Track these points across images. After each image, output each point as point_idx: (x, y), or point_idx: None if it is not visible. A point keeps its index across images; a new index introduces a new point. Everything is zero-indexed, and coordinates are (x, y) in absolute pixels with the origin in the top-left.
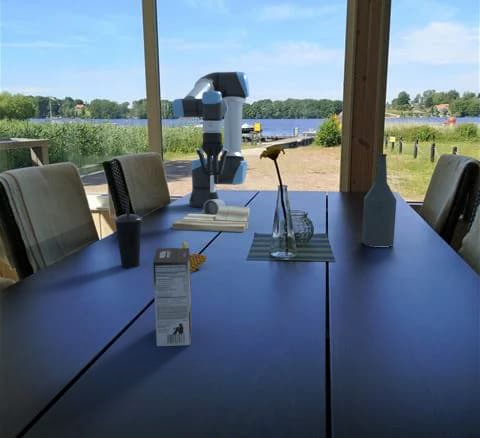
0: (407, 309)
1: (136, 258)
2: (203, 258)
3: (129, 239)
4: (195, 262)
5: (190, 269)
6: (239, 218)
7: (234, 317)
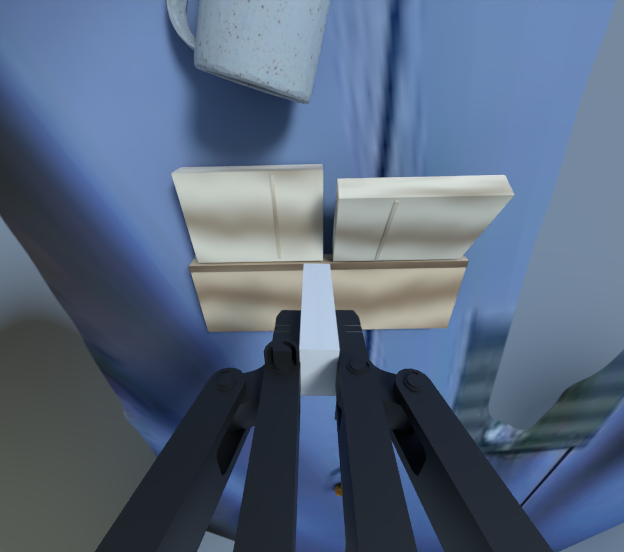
0: (582, 516)
1: None
2: None
3: None
4: None
5: None
6: (436, 251)
7: (424, 534)
